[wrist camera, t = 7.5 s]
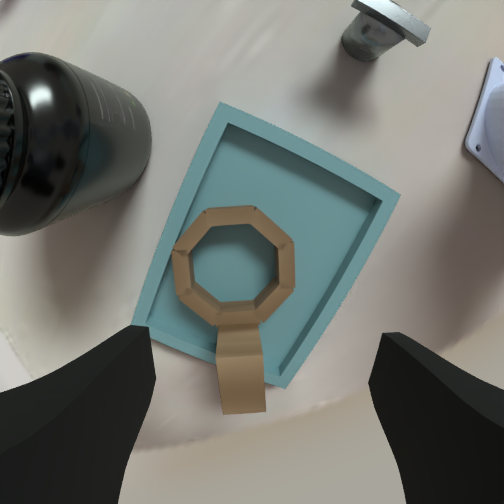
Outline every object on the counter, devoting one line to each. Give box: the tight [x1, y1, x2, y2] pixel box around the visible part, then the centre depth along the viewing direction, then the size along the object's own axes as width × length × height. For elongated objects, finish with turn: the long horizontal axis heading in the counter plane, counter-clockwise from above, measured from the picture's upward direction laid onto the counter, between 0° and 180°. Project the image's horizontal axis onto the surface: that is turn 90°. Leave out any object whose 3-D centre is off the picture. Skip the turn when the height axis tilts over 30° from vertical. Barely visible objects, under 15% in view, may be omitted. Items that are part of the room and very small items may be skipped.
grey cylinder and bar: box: [342, 0, 431, 61], centre depth 12 cm, size 4×2×5 cm, turn 65°
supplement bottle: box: [0, 52, 152, 236], centre depth 10 cm, size 7×7×12 cm
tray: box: [131, 102, 400, 389], centre depth 17 cm, size 10×14×2 cm
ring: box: [171, 205, 296, 415], centre depth 15 cm, size 9×6×5 cm, turn 3°
